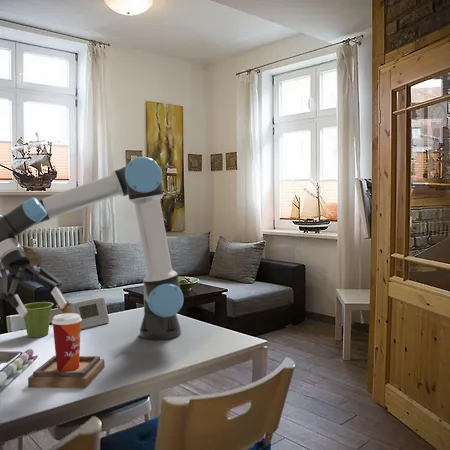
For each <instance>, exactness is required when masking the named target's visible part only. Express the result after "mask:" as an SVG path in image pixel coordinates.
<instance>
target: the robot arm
mask: <svg viewBox="0 0 450 450" xmlns="http://www.w3.org/2000/svg"><path fill="white" fill-rule="evenodd" d="M162 178H163V173H162V169H161V166H159V164H158V163H157V161H156V160H154V159H153V158H150V157H147V156H139V157H135V158H133V159H131V160H130V161H129V162H128V163H127V164H126V165H125V166H123V167H121V168H119V169H116V170H114V171H113V172H112V174H110V175H107V176H105V177H102V178H99V179H96V180H93V181H90V182H87V183H84V184H81V185H79V186H76V187H73V188H70V189H67V190H64V191H62V192H58V193H55V194H52V195H50V196H47V197H43V198H41V199H37V198H36V197H31V198H29V199H27V200H24V201H23V202H22V203H20V204H19V205H18V206H16V207H15V208H13V209H12V210H11V211H9V212H7V213H6V214H4V215H2V214H0V263H1V264H0V265H2V268H1V269H0V301H1V300H5V302H7V303H10V305H11V307H12V308H13V309H15V310H16V311H17V313H18V315H19V316H20V318H21V319H24V317H25V315H26V314H27V310H26V308H25V306H24V305H25V304H24V303H23V302H22V300H21V298H20V296H19V294H17V293H16V294H15V292H16V290H17V286H18V284H19V283H23V282H32V283H37V284H39V285H41V286H43V287H45V288H47V289H48V290H50V294H51V295H52V296H53V298H54V300H55V302H56V303H57V304H58V305H59V306H60V308H61V309H63V308H64V306H65V305H66V304H67V302H66V301H65V300H66V299H65V297H64V293H63V292H62V290H61V286H62V285H63V281H61V280H60V279H59V278H57V277H56V276H55V275H54V274H52V273H51V272H49V270H47V269H46V268H45V267H44V266H43V265H42V264H41V263H37V265H32V263H31V262H30V261H31V260H30V258H29V257H28V255H27V253H26V252H25V250H24V248H23V247H22V245H21V243H20V242H19V240H18V239H17V236H20V235H21V234H22V233H24V232H25V231H27V230H28V229H29V228H30V229H31V227H33V226H35V225H39V224H42V223H44V222H47V221H49V220H52V219H55V218H57V217H60V216H63V215H66V214H68V213H69V214H70V213H72V212H75V211H78V210H81V209H84V208H85V207H86V208H87V207H89V206H91V205H94V204H97V203H100V202H103V201H107V200H110V199H112V198H114V197H117V196H121V197H125V196H126V197H127V196H128V200H129V202H131V203H132V204H134V207H135V208H134V209H135V215H136V219H137V225H138V229H139V235H140V237H139V238H140V240H141V241H140V242H141V247H142V252H143V257H144V263H145V268H146V269H145V270H146V274H144V275H143V280H142V283H143V312H144V313H143V317H142V321H141V323H140V328H139V337H141V338H142V339H145V340H146V339H147V340H151V341H152V340H153V341H155V340H156V341H157V340H158V341H160V340H169V339H174V338H177V337H179V336H180V335H182V328H181V324H180V321H179V318H178V315H177V314H178V313H179V312H180V310H181V309H182V307H183V305H184V294H183V291H182V289H181V285H180V281H179V275H178V272H177V271H176V270H174V269H173V267H172V262H171V255H170V250H169V244H168V238H167V232H166V227H165V222H164V216H163V210H162V204H161V199H162V198H163V196H164V189H163V183H162V181H163V180H162ZM8 276H9V278H12V280H11V284H10V287H9V289H8Z"/></svg>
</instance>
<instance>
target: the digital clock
mask: <svg viewBox="0 0 450 450" xmlns="http://www.w3.org/2000/svg"><path fill="white" fill-rule="evenodd" d="M69 303H70V304H69V306H70V311H71V313H76V314H79V315H80V318H81V319H82V321H81V326H80V331H81V330H86V329H87V330H88V329H91V328H95V327H100V326H102V325H104V324H105V325H106V324H108V323H109V322H110V318H109V314H108V313H109V312H108V309H107V305H106V301H105V298H104V296H99V297H97V296H96V297H91V298H86V299H80V300H76V301H71V302H69Z"/></svg>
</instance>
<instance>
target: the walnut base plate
mask: <svg viewBox="0 0 450 450" xmlns="http://www.w3.org/2000/svg"><path fill="white" fill-rule="evenodd" d="M103 368H104V369H105V358H101V356H99V355H98V356H97V355H96V356H95V355H93V356H91V355H88V356H87V355H80V359H79V368H78V369H76V370H73V371H58V370H57V363H56V355H53V356H52V357H51V358H50V359H48V360H47V361H46V362H45V363H43V364H42V365H41V366H39V367H38V368H37V369H36V370H35V371H33V372H32V374H31V375H30V376H28V378H27V387H28V388H66V389H67V388H72V389H83V388H84V389H86V388H88V387H89V386H90V384H91V383H92V382H93V381H94V380H95V379H96V377H97V376H99V374H100V373H101V372H102V371H103V370H104V369H103ZM102 369H103V370H102Z"/></svg>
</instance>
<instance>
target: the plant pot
mask: <svg viewBox="0 0 450 450" xmlns="http://www.w3.org/2000/svg"><path fill="white" fill-rule="evenodd" d="M23 305H24V306H25V308H26V310H27V314H26V315H25V317H24V318H23V322H24V324H25V329H26V333H27V337H29V338H33V337H34V338H41V337H45V336H46V335H48V334H49V330H50V328H49V327H50V322H51V313H52V309H53V306H54V303H53V302H48V301H41V302H40V301H39V302H30V303H26V304H23Z"/></svg>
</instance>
